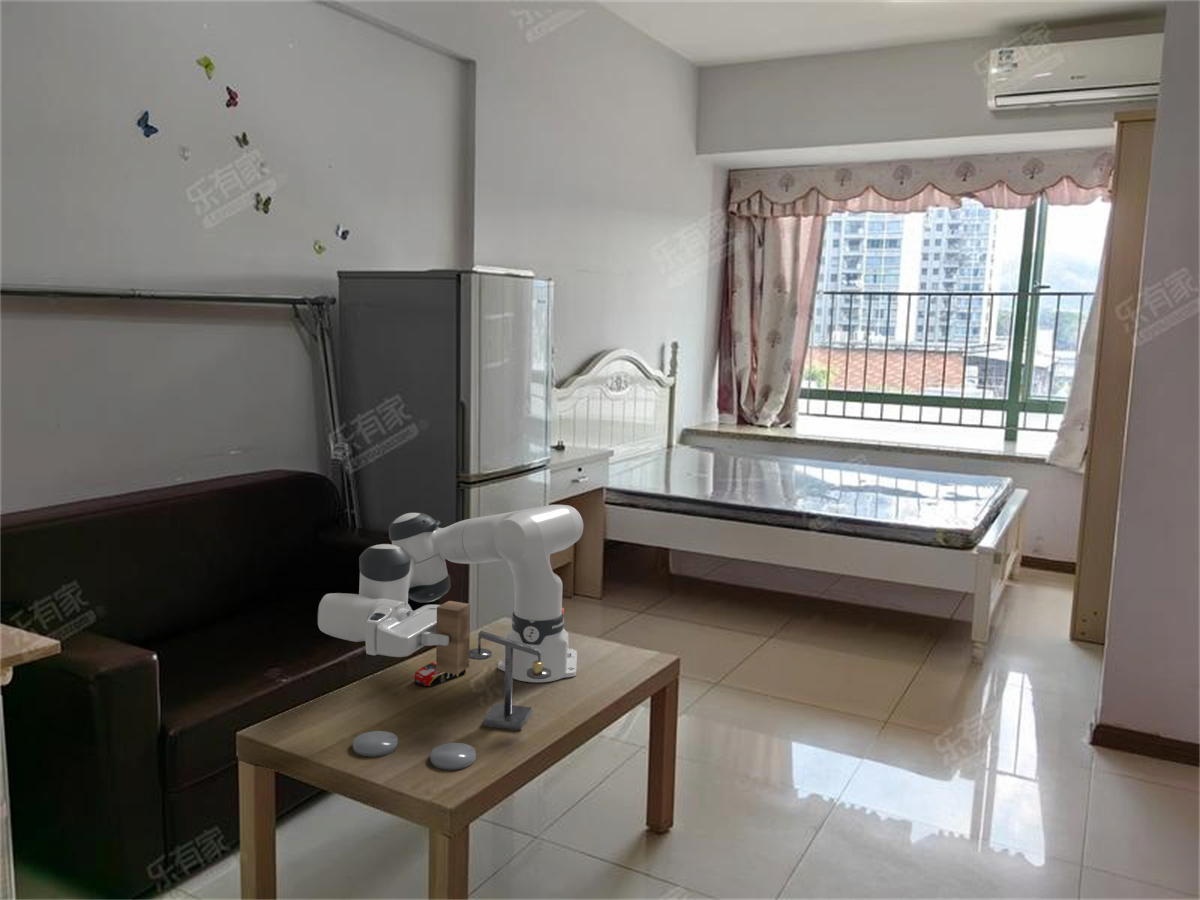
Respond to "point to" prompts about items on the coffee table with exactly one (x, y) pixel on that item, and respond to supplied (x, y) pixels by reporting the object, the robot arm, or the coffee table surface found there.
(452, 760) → the grey flat pebble
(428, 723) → the coffee table surface
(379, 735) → the grey oval dome
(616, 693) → the coffee table surface
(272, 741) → the coffee table surface
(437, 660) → the pillar
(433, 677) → the race car
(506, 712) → the balance
